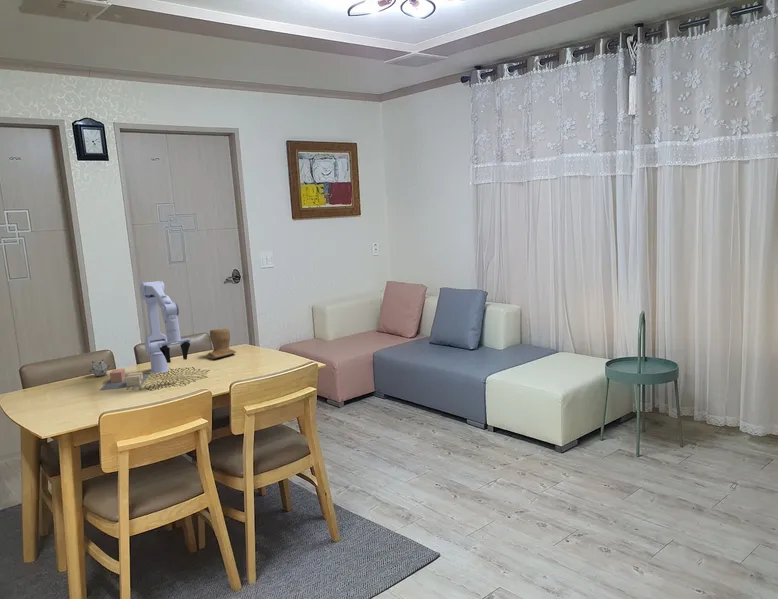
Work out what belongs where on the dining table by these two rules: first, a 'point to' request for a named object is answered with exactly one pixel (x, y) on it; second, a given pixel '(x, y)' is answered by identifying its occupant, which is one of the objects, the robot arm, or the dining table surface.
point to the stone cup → (220, 343)
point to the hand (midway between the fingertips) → (177, 361)
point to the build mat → (121, 384)
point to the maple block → (134, 379)
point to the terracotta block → (117, 375)
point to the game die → (99, 368)
